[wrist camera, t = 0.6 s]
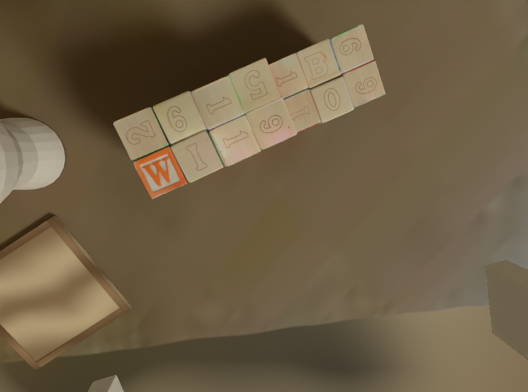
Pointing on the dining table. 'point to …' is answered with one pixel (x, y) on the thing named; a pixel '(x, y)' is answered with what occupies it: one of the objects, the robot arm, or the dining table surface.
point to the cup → (28, 155)
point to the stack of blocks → (249, 111)
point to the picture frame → (52, 294)
